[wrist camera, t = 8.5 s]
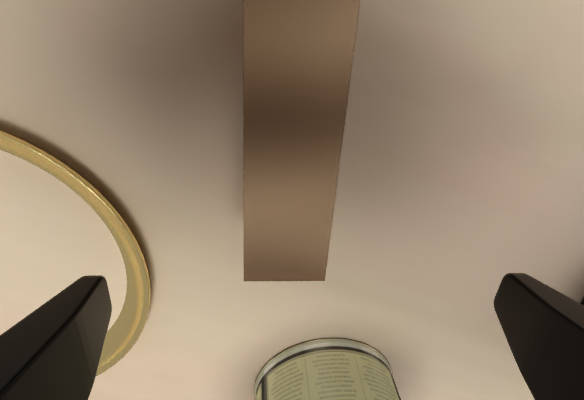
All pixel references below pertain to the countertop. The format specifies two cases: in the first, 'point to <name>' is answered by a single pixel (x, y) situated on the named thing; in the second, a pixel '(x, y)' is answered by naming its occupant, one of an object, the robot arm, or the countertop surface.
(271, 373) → the coffee can
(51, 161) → the serving platter
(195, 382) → the countertop surface
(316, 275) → the brown wooden bar
